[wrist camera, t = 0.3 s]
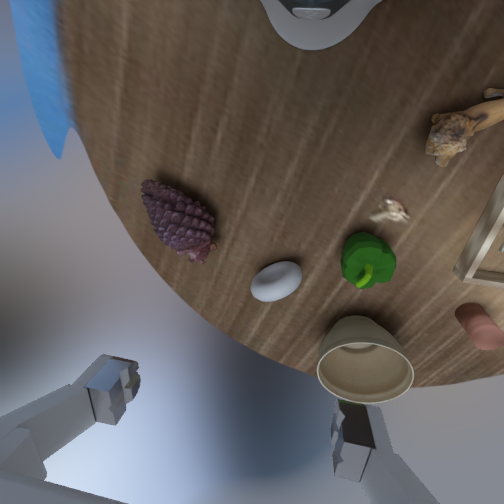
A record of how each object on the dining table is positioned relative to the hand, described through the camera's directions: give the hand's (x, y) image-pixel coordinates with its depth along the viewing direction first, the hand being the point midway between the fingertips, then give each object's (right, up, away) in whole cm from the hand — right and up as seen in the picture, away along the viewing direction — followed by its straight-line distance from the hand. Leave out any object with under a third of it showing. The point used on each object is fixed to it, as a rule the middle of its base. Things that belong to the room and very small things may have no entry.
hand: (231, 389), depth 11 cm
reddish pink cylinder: (+41, -6, +39) cm, 57 cm away
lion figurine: (+30, +24, +26) cm, 46 cm away
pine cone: (-11, +13, +41) cm, 44 cm away
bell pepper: (+20, +7, +37) cm, 43 cm away
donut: (+6, +3, +43) cm, 43 cm away
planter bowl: (+23, -11, +47) cm, 53 cm away
